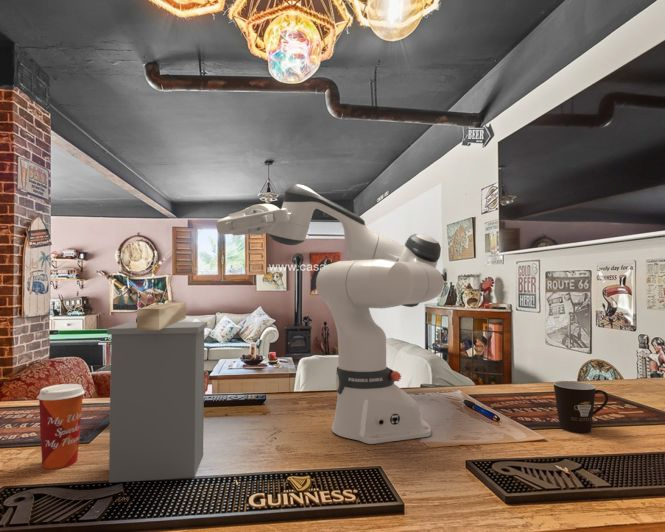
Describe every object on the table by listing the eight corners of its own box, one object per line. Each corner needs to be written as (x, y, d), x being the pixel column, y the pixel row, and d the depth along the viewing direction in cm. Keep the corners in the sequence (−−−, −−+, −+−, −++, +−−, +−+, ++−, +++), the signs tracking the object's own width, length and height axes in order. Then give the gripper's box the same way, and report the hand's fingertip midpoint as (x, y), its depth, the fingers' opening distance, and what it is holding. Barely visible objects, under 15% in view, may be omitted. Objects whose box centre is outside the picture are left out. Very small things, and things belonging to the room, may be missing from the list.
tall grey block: (206, 453, 87) (207, 321, 88) (196, 478, 76) (198, 327, 77) (126, 458, 85) (128, 322, 86) (104, 484, 74) (107, 328, 75)
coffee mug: (555, 432, 99) (555, 387, 99) (552, 421, 107) (551, 379, 107) (616, 439, 95) (615, 392, 95) (608, 427, 103) (607, 383, 103)
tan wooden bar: (185, 318, 95) (185, 302, 95) (159, 330, 73) (159, 308, 73) (168, 318, 95) (169, 302, 95) (136, 330, 72) (137, 308, 72)
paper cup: (48, 475, 77) (50, 394, 78) (27, 465, 81) (29, 389, 82) (92, 460, 84) (94, 385, 84) (71, 451, 88) (72, 381, 88)
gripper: (295, 223, 128) (286, 227, 114) (229, 236, 130) (212, 241, 117) (291, 202, 127) (281, 203, 113) (224, 215, 129) (206, 217, 116)
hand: (245, 222), depth 115 cm, fingers open, 8 cm apart
